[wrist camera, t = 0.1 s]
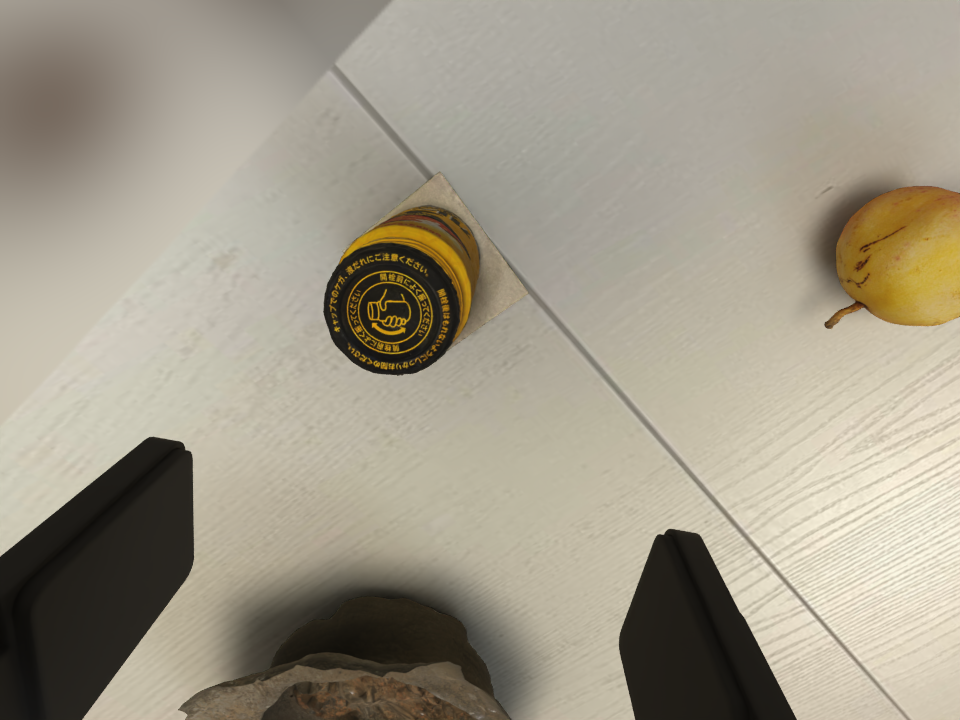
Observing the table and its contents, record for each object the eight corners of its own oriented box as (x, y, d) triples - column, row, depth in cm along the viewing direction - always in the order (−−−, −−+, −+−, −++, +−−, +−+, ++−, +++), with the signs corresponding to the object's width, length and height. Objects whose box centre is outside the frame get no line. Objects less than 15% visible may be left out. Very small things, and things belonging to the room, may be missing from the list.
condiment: (440, 171, 30) (401, 183, 19) (528, 292, 32) (541, 368, 21) (342, 250, 32) (254, 304, 21) (432, 360, 34) (397, 463, 23)
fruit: (897, 397, 27) (1109, 264, 25) (847, 313, 24) (1083, 148, 21) (812, 331, 33) (974, 216, 30) (762, 256, 30) (939, 120, 27)
